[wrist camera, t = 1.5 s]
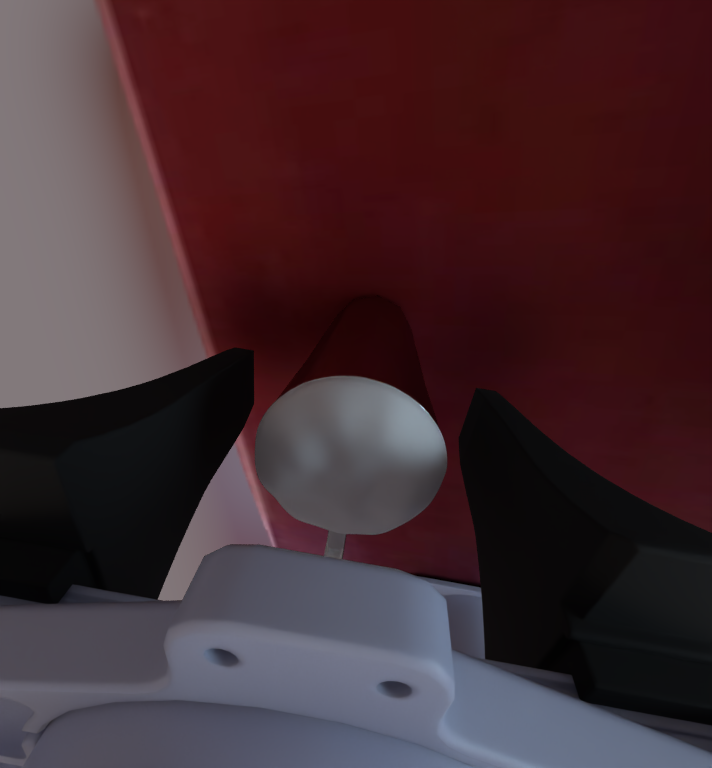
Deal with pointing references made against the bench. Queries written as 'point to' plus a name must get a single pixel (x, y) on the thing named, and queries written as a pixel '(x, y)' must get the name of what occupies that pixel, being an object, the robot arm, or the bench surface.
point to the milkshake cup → (354, 429)
